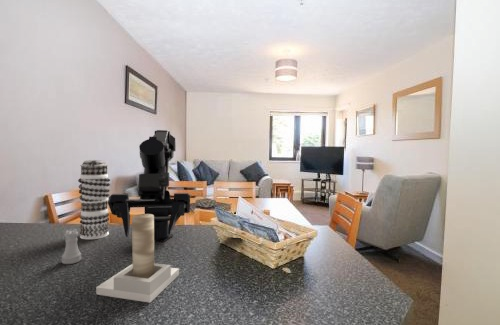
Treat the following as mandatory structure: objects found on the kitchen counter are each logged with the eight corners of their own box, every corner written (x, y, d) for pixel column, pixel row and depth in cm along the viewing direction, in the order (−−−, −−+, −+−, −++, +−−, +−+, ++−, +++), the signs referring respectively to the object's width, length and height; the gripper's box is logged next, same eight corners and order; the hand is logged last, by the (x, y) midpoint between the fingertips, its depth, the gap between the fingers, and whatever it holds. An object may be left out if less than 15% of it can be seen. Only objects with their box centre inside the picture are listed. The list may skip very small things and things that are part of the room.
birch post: (147, 275, 60) (147, 212, 59) (158, 281, 57) (157, 216, 56) (129, 282, 57) (128, 216, 56) (139, 289, 54) (138, 220, 53)
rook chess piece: (71, 265, 68) (71, 234, 67) (56, 263, 68) (56, 232, 68) (86, 258, 72) (85, 228, 71) (71, 257, 73) (71, 227, 72)
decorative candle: (87, 241, 84) (87, 161, 83) (73, 236, 89) (72, 160, 88) (115, 234, 92) (115, 160, 91) (100, 229, 97) (100, 159, 96)
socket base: (133, 269, 66) (133, 252, 66) (179, 274, 64) (179, 258, 64) (96, 294, 55) (96, 274, 54) (150, 302, 52) (150, 282, 52)
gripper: (109, 160, 64) (94, 218, 54) (190, 161, 69) (190, 215, 59) (118, 188, 73) (106, 243, 62) (189, 187, 77) (189, 239, 67)
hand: (148, 235), depth 62 cm, fingers open, 9 cm apart
